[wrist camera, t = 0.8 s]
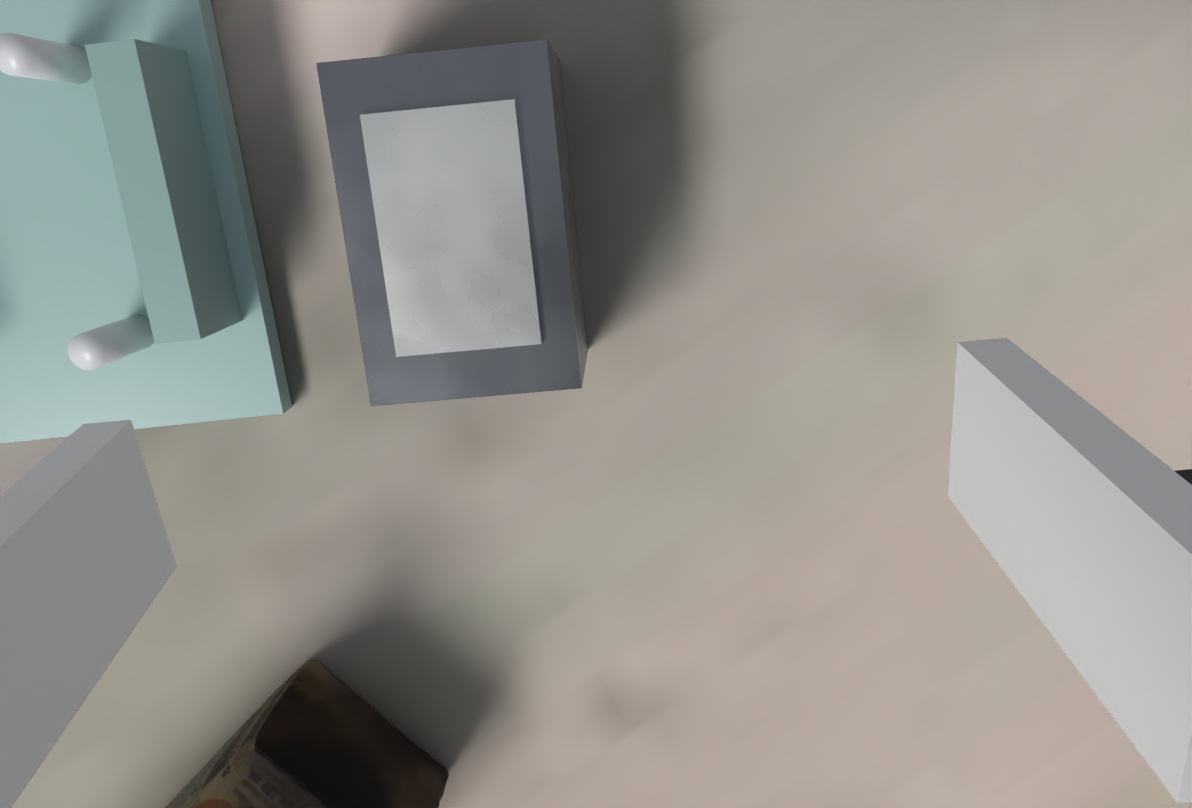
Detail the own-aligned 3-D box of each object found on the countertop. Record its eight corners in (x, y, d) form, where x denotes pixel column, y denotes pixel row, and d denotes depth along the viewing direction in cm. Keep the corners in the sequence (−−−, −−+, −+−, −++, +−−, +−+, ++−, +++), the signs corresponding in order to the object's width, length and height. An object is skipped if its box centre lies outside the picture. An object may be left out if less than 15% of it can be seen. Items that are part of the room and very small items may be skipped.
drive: (588, 348, 35) (581, 389, 29) (412, 364, 35) (369, 407, 29) (559, 59, 32) (545, 38, 26) (370, 78, 33) (314, 62, 27)
